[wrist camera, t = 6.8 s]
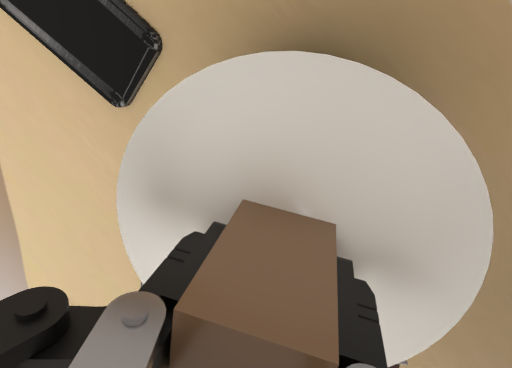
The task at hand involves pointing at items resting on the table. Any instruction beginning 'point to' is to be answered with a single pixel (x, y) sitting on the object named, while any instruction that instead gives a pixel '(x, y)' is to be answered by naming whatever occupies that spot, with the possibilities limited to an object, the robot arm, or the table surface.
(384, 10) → the table surface
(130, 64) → the phone
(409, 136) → the lid
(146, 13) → the table surface
